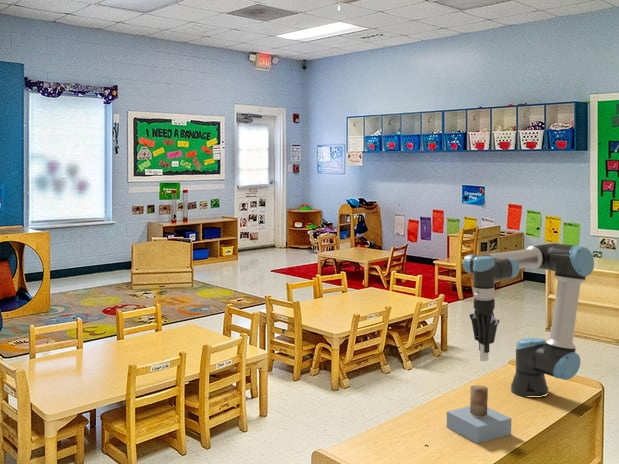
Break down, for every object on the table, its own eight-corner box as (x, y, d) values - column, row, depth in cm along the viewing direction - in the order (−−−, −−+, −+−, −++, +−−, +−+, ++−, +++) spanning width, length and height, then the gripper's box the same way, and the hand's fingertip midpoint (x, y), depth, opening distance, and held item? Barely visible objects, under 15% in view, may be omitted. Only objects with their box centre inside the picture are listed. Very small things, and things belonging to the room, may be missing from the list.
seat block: (479, 418, 236) (479, 403, 235) (511, 434, 222) (511, 418, 221) (446, 427, 228) (446, 411, 228) (477, 443, 214) (477, 427, 214)
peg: (478, 423, 229) (479, 384, 228) (490, 429, 224) (491, 389, 222) (466, 426, 226) (466, 386, 225) (477, 432, 221) (478, 392, 219)
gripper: (463, 296, 232) (464, 357, 235) (489, 302, 221) (489, 367, 223) (478, 294, 236) (479, 354, 238) (504, 300, 224) (504, 363, 227)
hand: (484, 360), depth 231 cm, fingers closed
